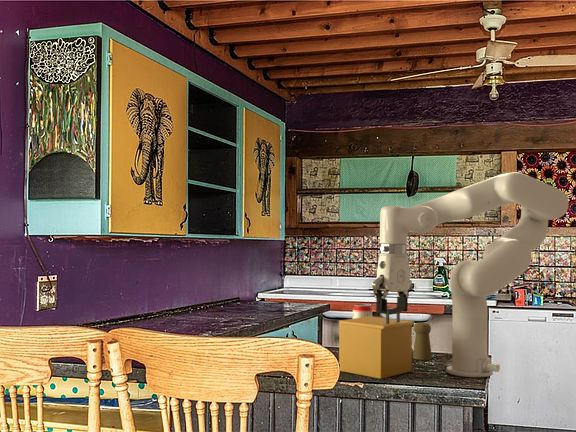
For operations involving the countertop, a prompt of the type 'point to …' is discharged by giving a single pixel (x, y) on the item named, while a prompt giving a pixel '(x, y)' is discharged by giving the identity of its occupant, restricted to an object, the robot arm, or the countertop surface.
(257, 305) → the countertop surface
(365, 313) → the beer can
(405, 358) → the chest
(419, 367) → the countertop surface
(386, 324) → the lid
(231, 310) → the countertop surface
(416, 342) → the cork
